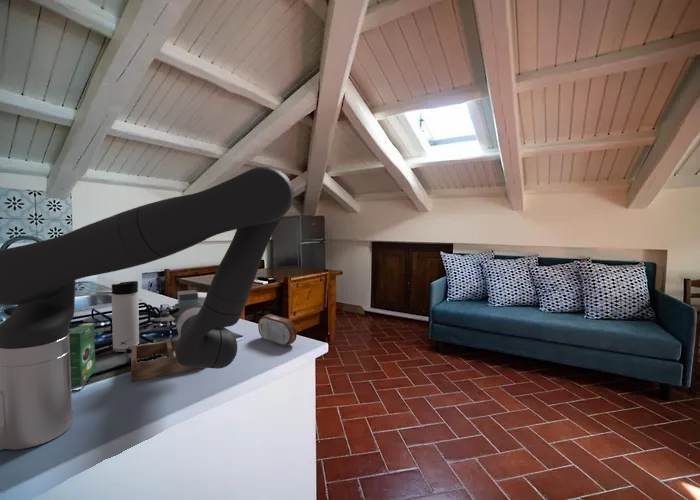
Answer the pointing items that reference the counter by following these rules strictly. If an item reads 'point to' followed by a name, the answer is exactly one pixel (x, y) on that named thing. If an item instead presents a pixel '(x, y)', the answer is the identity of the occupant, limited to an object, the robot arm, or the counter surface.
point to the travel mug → (125, 315)
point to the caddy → (158, 365)
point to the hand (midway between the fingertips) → (186, 306)
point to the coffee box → (82, 353)
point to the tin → (277, 329)
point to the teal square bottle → (187, 298)
